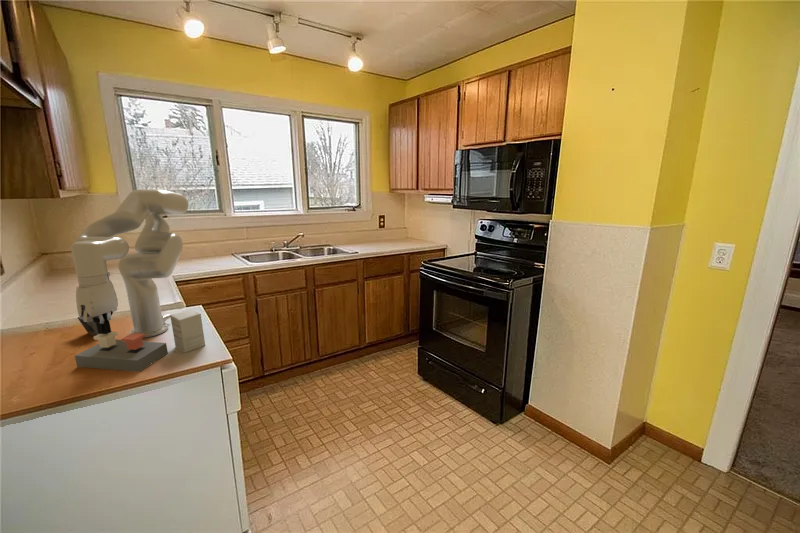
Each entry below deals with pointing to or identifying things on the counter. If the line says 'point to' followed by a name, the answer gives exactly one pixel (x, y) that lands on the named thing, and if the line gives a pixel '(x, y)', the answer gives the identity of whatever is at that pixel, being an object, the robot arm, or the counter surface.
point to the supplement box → (187, 330)
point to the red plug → (133, 340)
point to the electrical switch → (89, 326)
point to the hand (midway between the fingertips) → (104, 332)
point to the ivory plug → (106, 339)
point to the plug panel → (121, 356)
